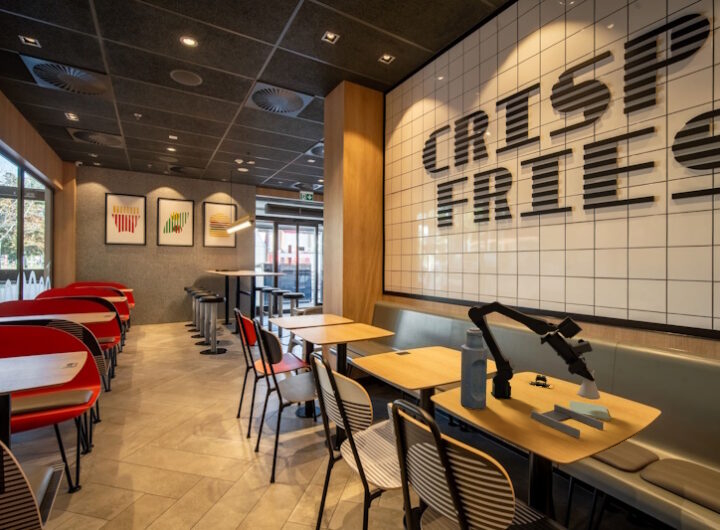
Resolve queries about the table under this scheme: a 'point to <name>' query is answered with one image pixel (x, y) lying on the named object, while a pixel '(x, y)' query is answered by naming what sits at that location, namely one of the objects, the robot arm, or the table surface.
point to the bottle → (473, 370)
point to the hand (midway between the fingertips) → (593, 379)
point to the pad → (590, 410)
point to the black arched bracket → (540, 378)
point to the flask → (589, 388)
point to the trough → (562, 414)
